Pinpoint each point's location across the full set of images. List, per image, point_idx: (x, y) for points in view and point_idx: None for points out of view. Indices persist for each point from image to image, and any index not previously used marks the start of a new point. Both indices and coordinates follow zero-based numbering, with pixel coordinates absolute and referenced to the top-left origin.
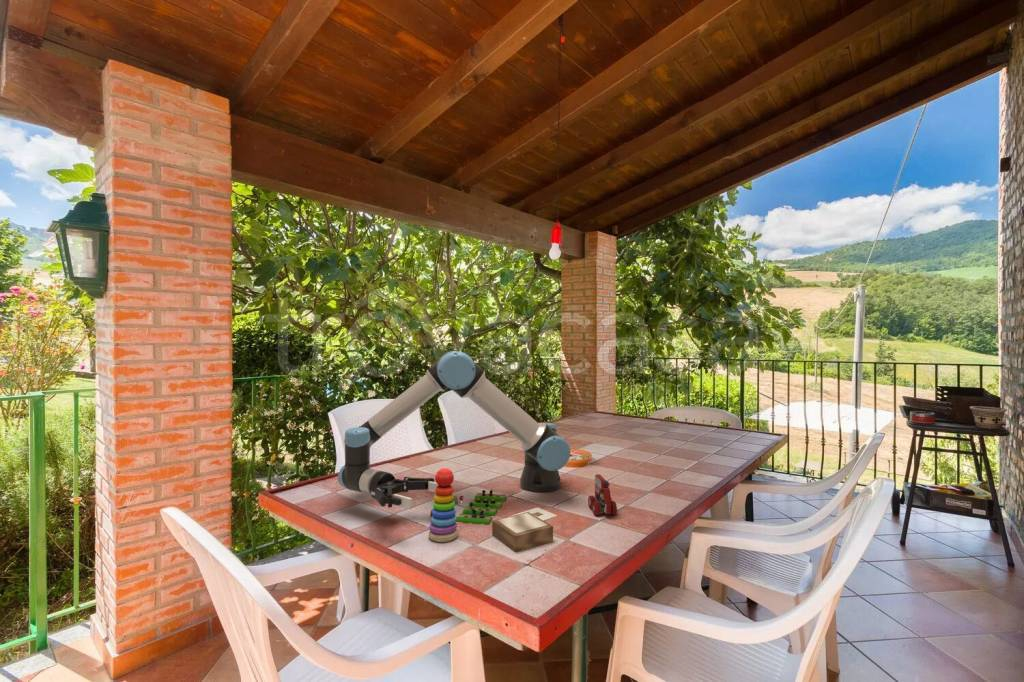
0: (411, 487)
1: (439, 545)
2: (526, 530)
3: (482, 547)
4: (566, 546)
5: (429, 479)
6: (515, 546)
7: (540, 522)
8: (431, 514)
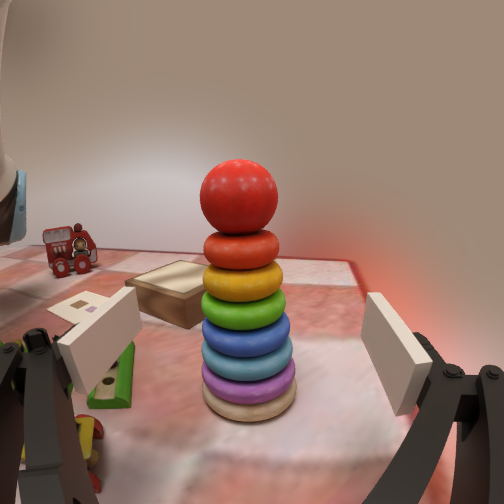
0: (81, 475)
1: (298, 376)
2: None
3: None
4: None
5: (13, 357)
6: None
7: (173, 265)
8: (96, 482)
